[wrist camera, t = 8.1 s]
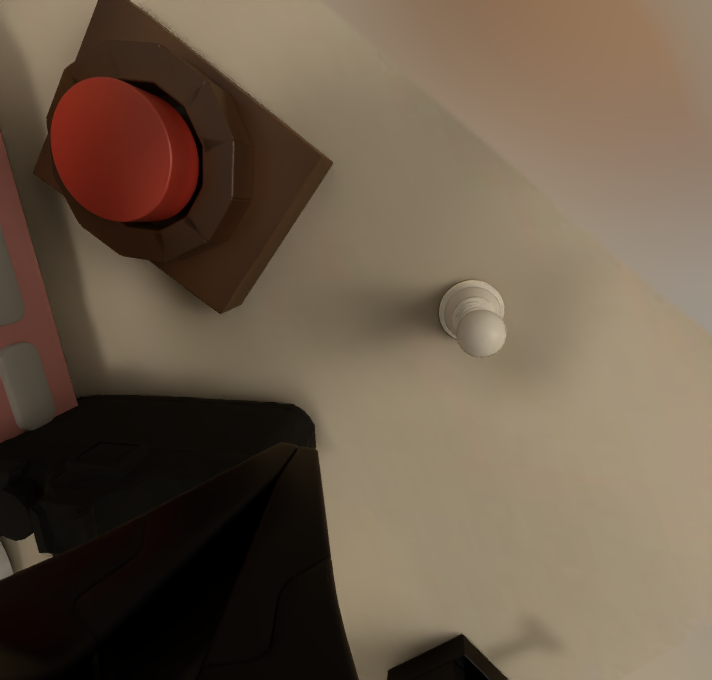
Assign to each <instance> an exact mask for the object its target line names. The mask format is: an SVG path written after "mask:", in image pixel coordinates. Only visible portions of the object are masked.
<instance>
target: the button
mask: <svg viewBox="0 0 712 680" xmlns="http://www.w3.org/2000/svg"><path fill="white" fill-rule="evenodd" d="M51 149H52V155H53V159H54V162H55V166H56V168H57V171H58V173H59V176H60V178H61V180H62V182H63V183H64V185H65V186H66V188H67V190H68V191H69V192H70V193H71V195H72V196H73V197H74V198H75V199H76V200H77V201H78V202H79V203H80V204H81V205H82V206H83V207H84V208H86V209H87V210H88V211H90V212H91V213H93V214H95V215H97V216H99V217H101V218H104V219H106V220H110V221H115V222H154V221H162V220H166V219H168V218H171V217H173V216H174V215H176V214H177V213H179V212H180V211H181V210H182V209H183V208H184V207H185V206H186V205H187V204H188V202H189V201H190V199H191V197H192V196H193V193H194V191H195V189H196V185H197V182H198V176H199V157H198V151H197V147H196V143H195V140H194V137H193V135H192V133H191V131H190V129H189V127H188V125H187V123H186V122H185V121H184V119H183V118H182V116H181V115H180V114H179V113H178V112H177V111H176V110H175V109H174V108H173V107H172V106H171V105H170V104H168V103H167V102H166V101H164V100H163V99H161V98H159V97H157V96H155V95H153V94H150V93H148V92H146V91H144V90H141V89H139V88H137V87H135V86H133V85H130V84H128V83H126V82H124V81H121V80H118V79H115V78H110V77H93V78H88V79H85V80H83V81H80V82H79V83H77V84H75V85H74V86H72V87H71V88H70V89H69V90H68V91H67V92H66V93H65V94H64V95H63V97H62V98H61V100H60V101H59V103H58V105H57V107H56V110H55V112H54V116H53V119H52V125H51Z"/></svg>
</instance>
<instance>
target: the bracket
mask: <svg viewBox="0 0 712 680" xmlns="http://www.w3.org/2000/svg"><path fill="white" fill-rule="evenodd" d="M387 680H508V679H507V678H506V677H505V676H504V675H503V674H502V673H501V672H500V671H499V670H498V669H497V668H496V667H495V666H494V665H493V664H492V663H491V662H490V661H489V660H488V659H487V658H486V657H485V656H484V655H483V654H482V653H481V652H480V651H479V650H478V649H477V648H476V647H475V646H474V645H473V644H472V643H471V642H470V641H469V640H468V639H467V638H466V637H465V636H464V635H461V636H459V637H456V638H454V639H452V640H450V641H448V642H446V643H444V644H442V645H440V646H438V647H436V648H434V649H432V650H430V651H428V652H426V653H424V654H422V655H420V656H418V657H416V658H414V659H412V660H410V661H408V662H405V663H403V664H401V665H399V666H397V667H395V668H393V669H391V670H389V671H388V676H387Z"/></svg>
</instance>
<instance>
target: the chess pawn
mask: <svg viewBox="0 0 712 680" xmlns="http://www.w3.org/2000/svg"><path fill="white" fill-rule="evenodd" d="M503 317H504V303H503V300H502V297H501V296H500V294H499V292H498V291H497V290H496V289H495V288H494V287H492V286H491V285H490V284H488V283H485V282H483V281H478V280H468V281H463V282H460V283H458V284H456V285H454V286H453V287H451V288H450V289H449V290H448V291H447V292H446V294H445V295H444V296H443V298H442V300H441V303H440V306H439V318H440V322H441V324H442V326H443V328H444V329H445V331H446V332H447V333H448V334H449V335H451V336H452V337H453V338H455V339H457V341H458V344H459V345H460V347H461V348H462V349H463V350H464V352H466V353H467V354H469V355H471V356H474V357H480V358H483V357H489V356H492V355H494V354H496V353H497V352H498V351H499V350H500V349H501V348H502V346H503V345H504V343H505V340H506V335H507V332H506V327H505V324H504V322H503Z"/></svg>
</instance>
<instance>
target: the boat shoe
mask: <svg viewBox="0 0 712 680" xmlns="http://www.w3.org/2000/svg"><path fill="white" fill-rule="evenodd" d="M10 575H13V571H12V567H11V564H10V562H9V559H8V556H7V553H6V551H5V549H4V547H3V545H2V543H1V541H0V580H1V579H3V578H6V577H8V576H10Z"/></svg>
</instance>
